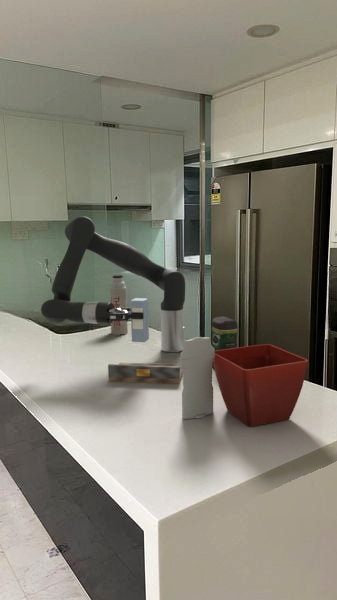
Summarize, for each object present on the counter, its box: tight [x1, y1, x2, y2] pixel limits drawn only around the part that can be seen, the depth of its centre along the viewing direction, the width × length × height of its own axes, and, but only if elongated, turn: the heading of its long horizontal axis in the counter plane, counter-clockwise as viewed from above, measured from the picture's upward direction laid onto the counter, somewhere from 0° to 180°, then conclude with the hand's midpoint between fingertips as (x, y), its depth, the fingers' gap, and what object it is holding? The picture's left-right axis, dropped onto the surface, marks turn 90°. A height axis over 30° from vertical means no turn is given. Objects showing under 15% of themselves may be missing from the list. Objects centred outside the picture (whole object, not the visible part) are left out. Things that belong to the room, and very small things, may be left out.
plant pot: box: [213, 343, 309, 427], centre depth 124 cm, size 19×19×17 cm
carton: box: [130, 297, 150, 343], centre depth 154 cm, size 5×4×14 cm
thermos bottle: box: [109, 274, 129, 336], centre depth 219 cm, size 8×8×28 cm
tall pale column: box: [179, 336, 214, 421], centre depth 123 cm, size 11×4×22 cm, turn 118°
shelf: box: [107, 362, 183, 384], centre depth 159 cm, size 24×17×6 cm
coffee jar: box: [211, 316, 239, 368], centre depth 165 cm, size 10×8×19 cm
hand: (145, 314), depth 153 cm, fingers closed on carton, 5 cm apart
